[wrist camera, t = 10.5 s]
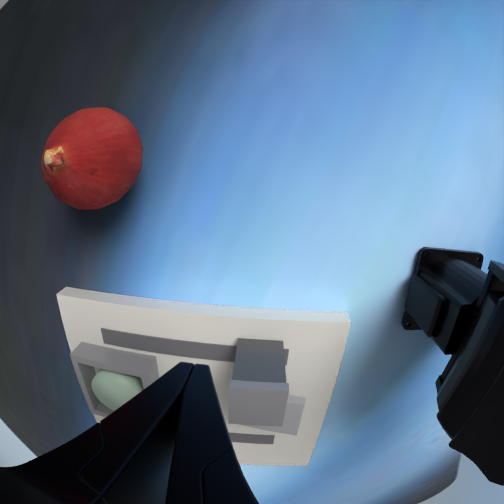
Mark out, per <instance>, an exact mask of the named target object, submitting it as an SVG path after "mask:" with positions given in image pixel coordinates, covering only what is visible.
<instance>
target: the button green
mask: <svg viewBox="0 0 504 504" xmlns="http://www.w3.org/2000/svg"><path fill="white" fill-rule="evenodd" d="M91 386H92V390H93V392H94V394H95V396H96V397H97V398H98V400H99V401H100V402H101V403H103V404H104V405H105V406H106V407H108V408H109V409H111V410H113V411H115V410H116V409H118V408H119V407H120V406H122V405H123V404H125V403H126V402H127V401H129V400H130V399H131V398H133V397H134V396H135V395H137V394H138V393H140V392H141V391H142V390H144V388H143V384H142V379H141V378H140V377H137V376H132V375H127V374H123V373H118V372H114V371H109V370H105V369H101V368H100V370H99V371H98V373H97V374H96V375H95V377H94V378H93V380H92V383H91Z"/></svg>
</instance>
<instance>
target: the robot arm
mask: <svg viewBox="0 0 504 504" xmlns="http://www.w3.org/2000/svg"><path fill="white" fill-rule="evenodd" d="M426 252H427V255H426V257H424V254H425V253H426ZM478 257H479V258H478ZM477 258H478V260H477ZM482 263H483V255H482V254H481V253H479V252H472V251H462V250H452V249H441V248H430V247H423V248H422V249H421V250H420V251H419V254H418V259H417V264H416V268H415V273H414V276H413V277H412V281H411V285H410V289H409V293H408V297H407V301H406V304H405V312H404V316H403V319H402V327H403V328H404V329H405V330H423V331H424V333H425V334H426V335H427V336H428V337H431V338H432V339H433V340H434V341H435V343H436V344H437V345H438V346H439V348H440V349H441V350H442V352H443V353H444V354H445V355H448V354H451V355H452V356H451V358H450V360H449V362H448V364H447V366H446V368H445V369H444V371H443V373H442V375H440V376H439V377H438V379H437V381H436V388H437V394H438V395H437V403H438V409H439V412H438V413H437V419H438V421H439V423H440V424H441V426H442V428H443V429H444V430H445V432H446V433H447V434H448V436H449V437H450V438H451V439H452V440H451V442H450V443H449V447H451V448H452V449H454V450H456V451H458V452H460V453H463V454H464V455H465V456H466V457H468V458H469V459H471V460H472V461H473V462H474V463H475V464H476V465H477V466H478V467H479V469H480V470H481V471H482V473H483V474H484V475H485V476H486V478H487V479H488V480H489V481H490V482H493V483H496V484H499V485H502V486H503V485H504V264H502V263H499V262H496V261H492V260H490V264H489V267H488V269H489V271H488V274H486V273H485V272H483V271H482V270H481V267H482ZM408 322H409V324H407V323H408ZM406 324H407V325H406ZM0 504H259V503H258V501H257V499H256V498H255V496H254V494H253V493H252V491H251V489H250V487H249V485H248V483H247V481H246V479H245V477H244V475H243V472H242V470H241V467H240V465H239V462H238V460H237V457H236V454H235V450H234V449H233V445H232V442H231V438H230V435H229V432H228V429H227V426H226V422H225V419H224V416H223V412H222V409H221V406H220V402H219V399H218V395H217V392H216V388H215V384H214V381H213V377H212V373H211V370H210V366H209V365H206V364H195V365H194V364H193V363H189V362H179V363H178V364H177V365H175V366H174V367H173V368H171V369H170V370H169V371H167V372H166V373H165V374H163V375H162V376H161V377H160V378H158V379H157V380H156V381H154V382H153V383H152V384H150V385H149V386H148V387H146V388H145V389H144V390H142V391H141V392H140V393H138V394H137V395H135V396H134V397H133V398H131V399H130V400H129V401H127V402H126V403H125V404H123V405H122V406H120V407H119V408H118V409H116V410H115V411H114V412H112V413H111V414H109V415H108V416H107V417H105V418H104V419H102V420H101V421H100V423H99V422H98V423H97V424H95V425H94V426H92V427H91V428H89V429H88V430H86V431H85V432H83V433H82V434H80V435H79V436H77V437H76V438H74V439H72V440H70V441H69V442H67V443H65V444H63V445H61V446H59V447H57V448H56V449H54V450H52V451H50V452H47V453H45V454H43V455H41V456H39V457H37V458H35V459H33V460H31V461H29V462H27V463H24V464H22V465H18V466H14V467H0Z"/></svg>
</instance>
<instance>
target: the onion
mask: <svg viewBox="0 0 504 504" xmlns="http://www.w3.org/2000/svg"><path fill="white" fill-rule="evenodd" d="M142 154H143V147H142V144H141V140H140V137H139V133H138V131H137V130H136V128H135V127H134V126H133V124H132V123H131V122H130V121H129V119H128V118H126V117H124V116H123V115H121V114H119V113H117V112H115V111H113V110H111V109H109V108H101V107H100V108H84V109H81V110H79V111H77V112H75V113H73V114H72V115H70V116H68V117H66V118H65V119H63V120H62V121H61V122H60V123H59V124H58V125H57V127H56V128H55V129H54V130H53V132H52V133H51V134H50V136H49V137H48V140H47V143H46V146H45V148H44V151H43V156H42V163H41V166H42V171H43V175H44V180H45V182H46V184H47V186H48V187H49V189H50V190H51V191H52V193H53V194H54V196H55V197H56V198H57V199H58V200H59V201H61V202H63V203H66V204H68V205H70V206H72V207H74V208H76V209H79V210H82V209H100V208H103V207H105V206H107V205H110V204H112V203H114V202H116V201H118V200H119V199H120V198H121V197H122V196H123V195H124V194H125V193H126V192H127V191H128V190H129V189H130V188H131V187H132V186H133V185H134V184H135V181H136V179H137V177H138V174H139V172H140V170H141V165H142Z"/></svg>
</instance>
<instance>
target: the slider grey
mask: <svg viewBox="0 0 504 504" xmlns="http://www.w3.org/2000/svg"><path fill="white" fill-rule="evenodd" d="M288 394H289V383H286V370H285V357H284V345H283V341H278V340H260V339H245V338H238V342H237V349H236V356H235V362H234V369H233V375H232V380H230V382H229V403H228V423H229V424H241V425H256V426H282V425H283V420H284V415H285V410H286V405H287V400H288Z"/></svg>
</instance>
